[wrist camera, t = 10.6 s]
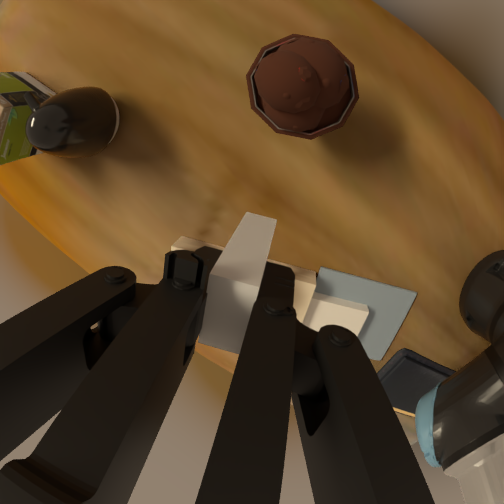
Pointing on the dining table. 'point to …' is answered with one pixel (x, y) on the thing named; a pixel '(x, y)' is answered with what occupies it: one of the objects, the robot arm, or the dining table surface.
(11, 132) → the tea box
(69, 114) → the pump dispenser
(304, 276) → the riser
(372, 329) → the mat
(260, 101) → the ice cream bowl
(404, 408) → the dark grey flat slab
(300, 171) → the dining table surface
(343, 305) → the cream rectangular block
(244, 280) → the robot arm
